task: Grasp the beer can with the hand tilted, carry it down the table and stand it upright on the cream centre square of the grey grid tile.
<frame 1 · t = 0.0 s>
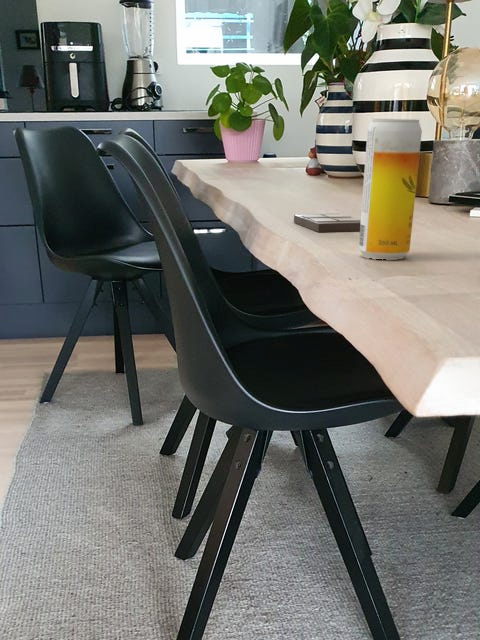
beer can: (383, 258, 97), on the table
grey grid tile: (329, 226, 120), on the table
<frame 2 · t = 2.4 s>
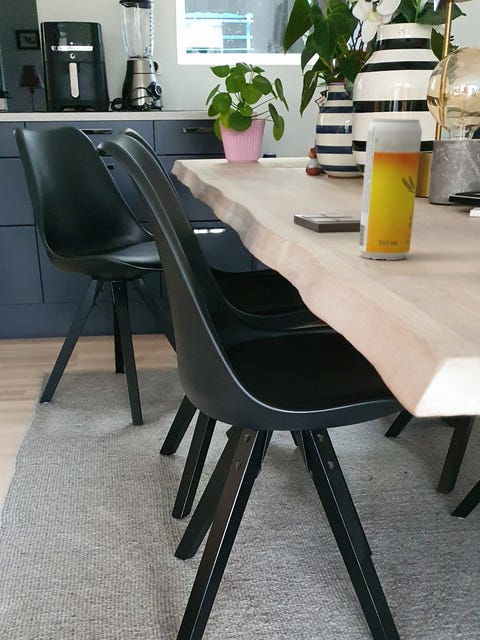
hand: (405, 0, 93), 27 cm above the table, tool tilted 40°, fingers open, 8 cm apart
nothing on the table moved.
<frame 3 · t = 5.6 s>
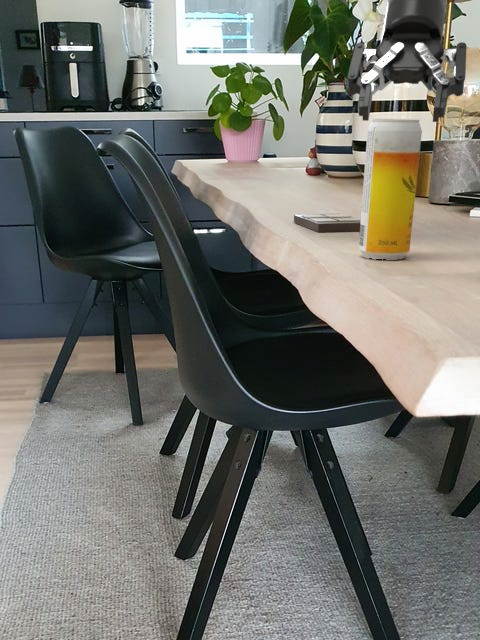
hand: (400, 116, 97), 15 cm above the table, tool tilted 45°, fingers open, 8 cm apart
nothing on the table moved.
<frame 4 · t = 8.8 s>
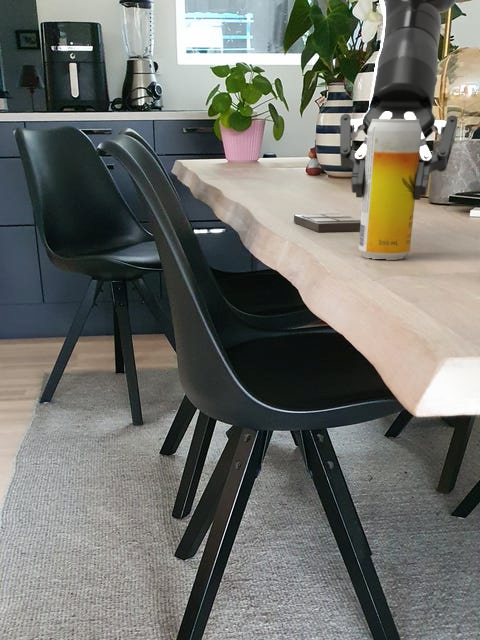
hand: (388, 193, 92), 7 cm above the table, tool tilted 45°, fingers closed on beer can, 6 cm apart
beer can: (383, 258, 97), on the table, touching gripper
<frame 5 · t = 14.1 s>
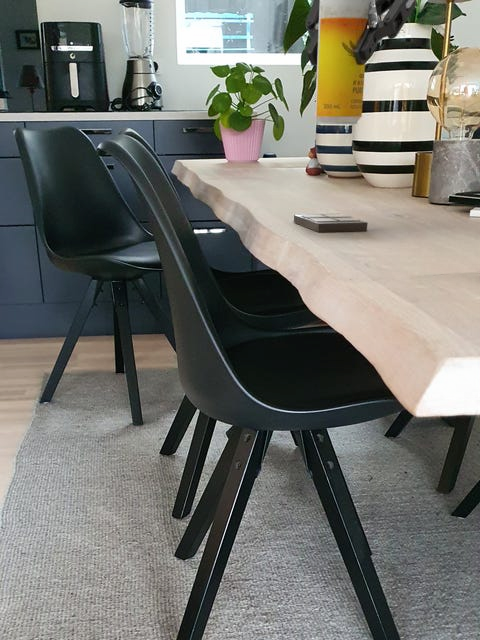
hand: (334, 59, 100), 22 cm above the table, tool tilted 45°, fingers closed on beer can, 6 cm apart
beer can: (337, 125, 105), point 14 cm above the table, touching gripper
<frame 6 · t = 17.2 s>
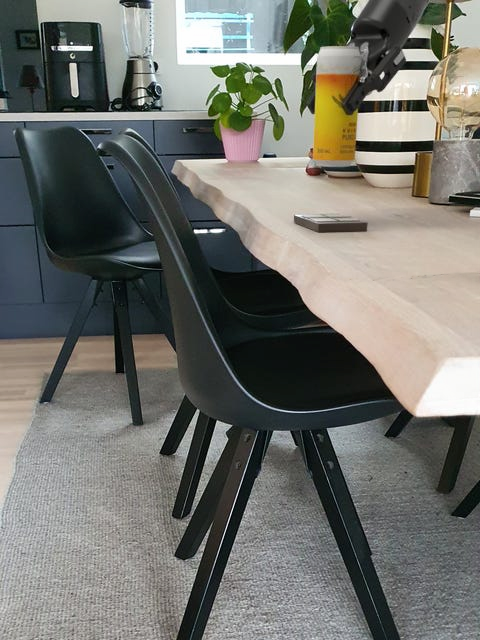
hand: (328, 109, 112), 16 cm above the table, tool tilted 45°, fingers closed on beer can, 6 cm apart
beer can: (333, 167, 117), point 8 cm above the table, touching gripper
when the fingers open (9 cm above the table, at t = 19.7 s): beer can stays where it is, resting on grey grid tile.
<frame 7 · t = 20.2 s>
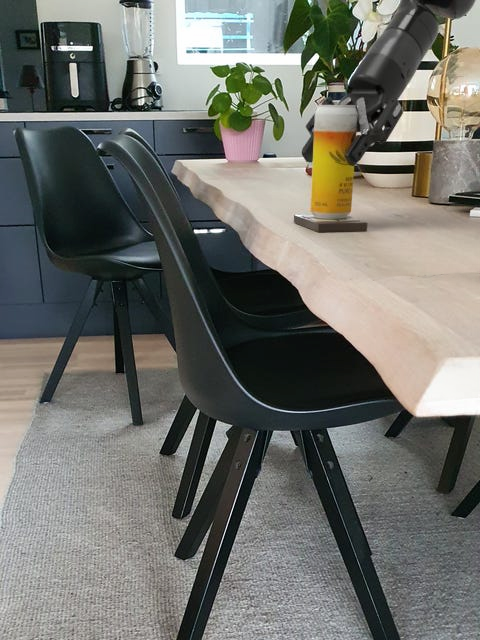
hand: (326, 159, 115), 9 cm above the table, tool tilted 45°, fingers open, 8 cm apart
beer can: (330, 218, 120), point 1 cm above the table, touching grey grid tile
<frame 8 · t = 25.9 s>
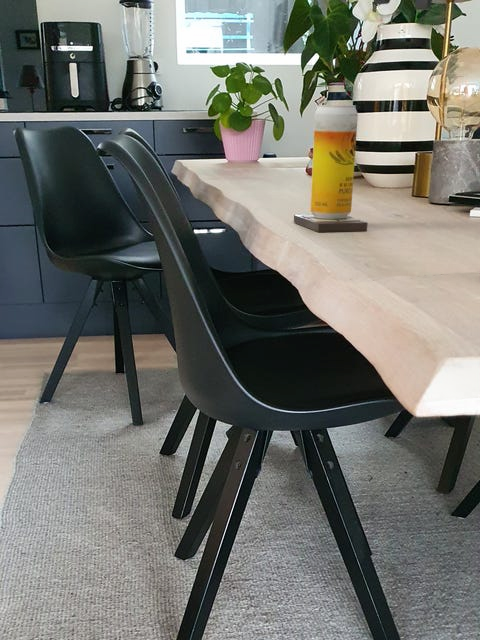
hand: (402, 6, 105), 28 cm above the table, tool pointing down, fingers open, 8 cm apart
nothing on the table moved.
at the end: beer can 0.1 cm off-centre on the grey grid tile, point 1.2 cm above the grey grid tile's base; beer can tilted 0°; the gripper is holding nothing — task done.
